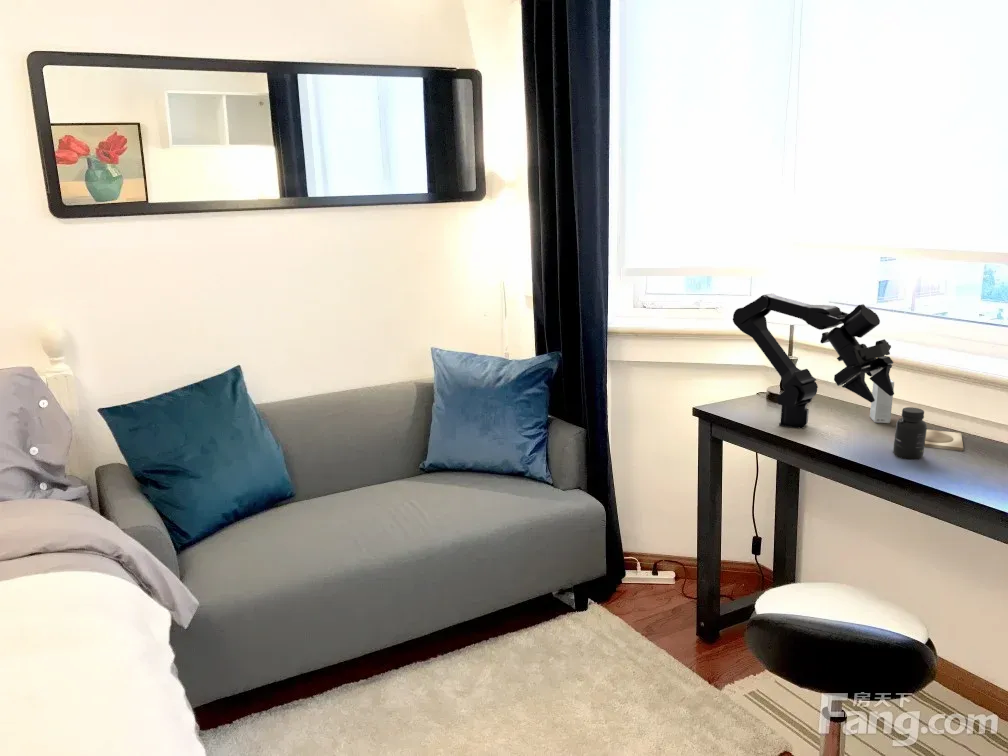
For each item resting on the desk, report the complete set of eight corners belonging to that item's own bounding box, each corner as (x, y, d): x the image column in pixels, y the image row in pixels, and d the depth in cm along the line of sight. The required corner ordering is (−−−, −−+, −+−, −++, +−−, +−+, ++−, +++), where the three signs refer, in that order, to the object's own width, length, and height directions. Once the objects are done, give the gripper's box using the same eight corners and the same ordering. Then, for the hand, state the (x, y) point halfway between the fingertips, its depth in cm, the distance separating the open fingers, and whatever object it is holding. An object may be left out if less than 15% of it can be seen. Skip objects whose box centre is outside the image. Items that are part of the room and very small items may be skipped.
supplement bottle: (887, 455, 199) (892, 409, 196) (901, 449, 203) (906, 404, 200) (914, 462, 194) (920, 415, 191) (928, 456, 198) (934, 410, 195)
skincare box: (890, 423, 224) (894, 382, 221) (874, 422, 225) (878, 381, 222) (885, 417, 230) (889, 376, 227) (869, 416, 231) (873, 376, 228)
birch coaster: (905, 444, 207) (905, 441, 207) (906, 430, 218) (906, 426, 218) (963, 450, 201) (963, 447, 201) (960, 435, 212) (960, 432, 212)
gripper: (850, 334, 196) (888, 388, 191) (890, 325, 207) (927, 375, 201) (818, 359, 205) (853, 411, 199) (858, 349, 215) (893, 398, 210)
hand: (882, 398), depth 202 cm, fingers open, 9 cm apart
